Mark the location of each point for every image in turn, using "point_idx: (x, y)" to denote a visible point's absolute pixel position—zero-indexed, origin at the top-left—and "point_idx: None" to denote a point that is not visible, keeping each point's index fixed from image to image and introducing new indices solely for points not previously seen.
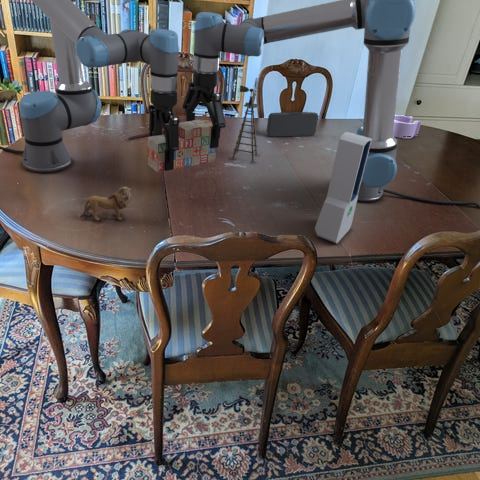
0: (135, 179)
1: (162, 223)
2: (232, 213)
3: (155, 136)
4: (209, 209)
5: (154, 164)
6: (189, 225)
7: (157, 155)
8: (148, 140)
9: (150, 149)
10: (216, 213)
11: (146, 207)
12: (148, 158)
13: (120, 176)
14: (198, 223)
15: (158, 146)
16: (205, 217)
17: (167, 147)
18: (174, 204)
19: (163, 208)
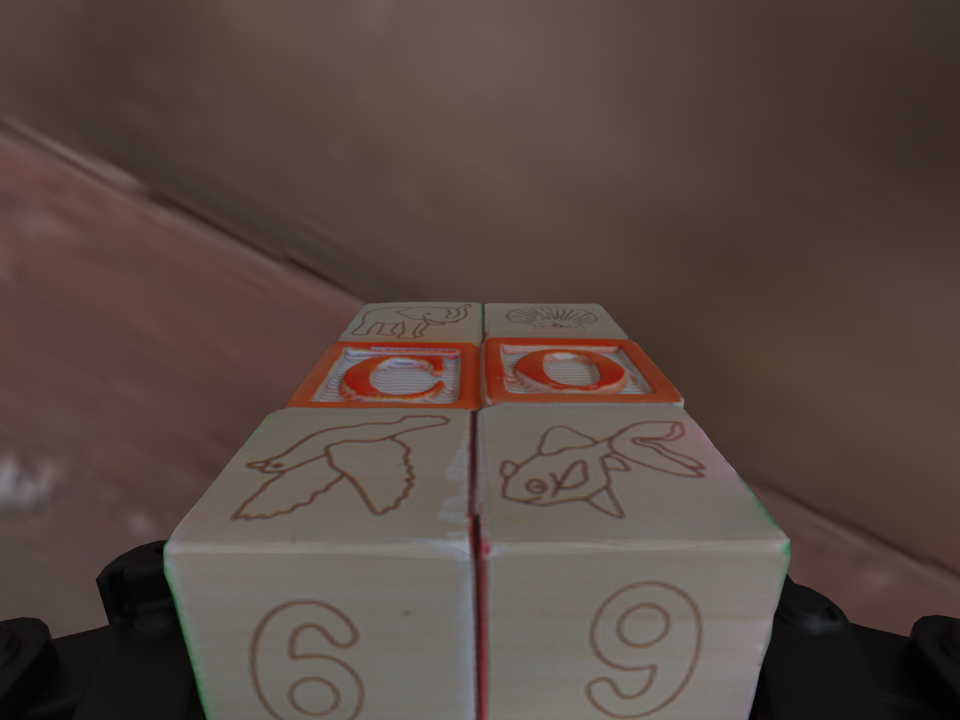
0: (795, 268)
1: (82, 104)
2: (87, 555)
3: (708, 712)
4: (173, 475)
5: (434, 323)
6: (8, 263)
7: (308, 389)
8: (715, 485)
9: (565, 393)
10: (113, 484)
11: (352, 117)
12: (604, 329)
13: (916, 186)
14: (20, 328)
15: (199, 507)
16: (84, 405)
17: (142, 647)
18: (314, 324)
19: (289, 227)
